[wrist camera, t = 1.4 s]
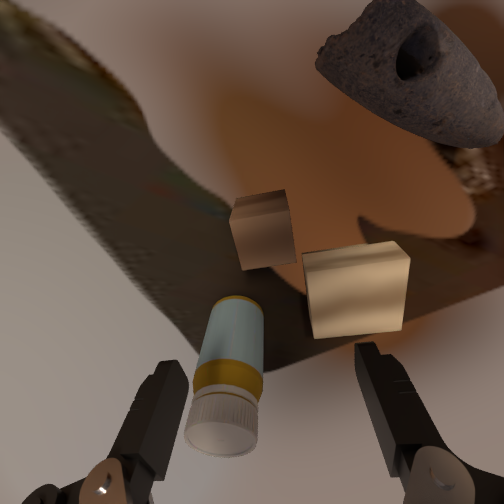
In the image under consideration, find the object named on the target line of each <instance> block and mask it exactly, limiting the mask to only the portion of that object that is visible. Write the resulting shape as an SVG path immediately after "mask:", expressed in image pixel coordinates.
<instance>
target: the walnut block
mask: <svg viewBox="0 0 504 504" xmlns="http://www.w3.org/2000/svg"><path fill="white" fill-rule="evenodd" d="M229 223H230V227H231V230H232V234H233V238H234V241H235V245H236V249H237V253H238V256H239V260H240V264H241V267H242V270H248V269H255V268H262V267H269V266H276V265H283V264H290V263H296V254H295V247H294V239H293V232H292V225H291V218H290V212H289V206H288V202H287V198H286V193H285V190H284V189H283V190H278V191H272V192H267V193H262V194H257V195H251V196H246V197H241V198H237V199H236V201H235V204H234V207H233V210H232V213H231V216H230V219H229Z"/></svg>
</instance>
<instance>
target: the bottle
mask: <svg viewBox="0 0 504 504" xmlns="http://www.w3.org/2000/svg"><path fill="white" fill-rule="evenodd" d="M263 336H264V314H263V311H262V309H261V307H260V306H259V305H258V304H257V303H256V302H255V301H253V300H251V299H250V298H247V297H244V296H235V295H234V296H229V297H225V298H222V299H221V300H219V301H218V302H217V303H216V304H215V305H214V306H213V309H212V312H211V315H210V319H209V322H208V326H207V330H206V334H205V337H204V341H203V345H202V348H201V352H200V356H199V360H198V363H197V367H196V371H195V375H194V379H193V392H194V396H193V400H192V406H191V408H190V411H189V415H188V419H187V423H186V427H185V430H184V439H185V442H186V443H187V444H188V445H189V446H190V447H191V448H193V449H194V450H196V451H198V452H200V453H203V454H206V455H209V456H214V457H224V458H225V457H226V458H230V457H239V456H243V455H246V454H248V453H250V452H251V451H253V450H254V449H255V447H256V444H257V436H258V435H257V434H258V414H257V413H258V402H259V399H260V397H261V394H262V391H263Z"/></svg>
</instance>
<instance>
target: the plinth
mask: <svg viewBox="0 0 504 504" xmlns="http://www.w3.org/2000/svg"><path fill="white" fill-rule="evenodd" d="M302 261H303V269H304V277H305V285H306V293H307V300H308V308H309V316H310V321H311V326H312V331H313V336H314V339H319V338H329V337H339V336H349V335H359V334H369V333H379V332H389V331H398V330H401V328H402V320H403V312H404V305H405V297H406V289H407V281H408V273H409V265H410V257H409V256H408V255H407V254H406V253H405V252H404V251H403V250H402V249H401V248H400V247H399V246H398V245H397V244H396V243H395V242H394V241H390V242H383V243H377V244H370V245H367V244H366V243H365V244H358V245H351V246H345V247H339V248H331V249H325V250H318V251H311V252H305V253H302Z"/></svg>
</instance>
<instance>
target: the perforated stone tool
mask: <svg viewBox="0 0 504 504" xmlns="http://www.w3.org/2000/svg"><path fill="white" fill-rule="evenodd" d="M317 54H318V58H317V59H316V62H315V66H316V69H317V70H318V71H319V72H320V73H321V74H322V75H323V76H324V77H325V78H326V79H327V80H328V81H329V82H330V83H332V84H333V85H334V86H335V87H337V88H338V89H340V90H341V91H342V92H343V93H345V94H346V95H347V96H349V97H350V98H351V99H353V100H355V101H356V102H358V103H359V104H360V105H362V106H363V107H365V108H366V109H368V110H370V111H371V112H372V113H374V114H376V115H377V116H379V117H381V118H383V119H385V120H387V121H389V122H390V123H392V124H394V125H396V126H398V127H400V128H402V129H404V130H407V131H409V132H411V133H413V134H416V135H418V136H421V137H423V138H426V139H429V140H431V141H434V142H437V143H441V144H445V145H449V146H454V147H461V148H469V149H473V148H482V147H489V146H491V145H494V144H497V143H498V141H500V139H501V138H502V136H503V132H504V111H503V108H502V107H501V104H500V102H499V101H498V99H497V93H496V89H495V87H494V85H493V83H492V81H491V80H490V78H489V76H488V75H487V74H486V73H485V72H484V71H483V70H482V69H481V67H480V65H479V63H478V61H477V60H476V58H475V57H474V56H473V55H472V54H471V52H470V51H469V50H468V49H467V47H466V46H465V45H464V44H463V43H462V42H461V40H460V39H459V38H458V37H457V36H456V35H455V34H454V33H453V32H452V31H451V30H450V29H449V28H448V27H447V26H446V25H445V24H444V23H443V22H442V21H441V20H439V19H438V18H437V17H436V16H435V15H433V14H432V13H431V12H430V11H429V10H427V9H426V8H425V7H424V6H422V5H420V4H419V3H418V2H417V1H416V0H373V1H372V2H371V3H369V4H368V5H367V7H366V8H365V10H364V11H363V13H362V15H361V16H360V17H359V18H357V20H356V21H355V22H354V23H352V24H351V25H350V27H349V29H348V30H346V31H344V32H342V33H341V34H339V35H331V36H330V37H328V38H327V41H326V43H325V46H322V47H321V48H320V49H319V52H317Z"/></svg>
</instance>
